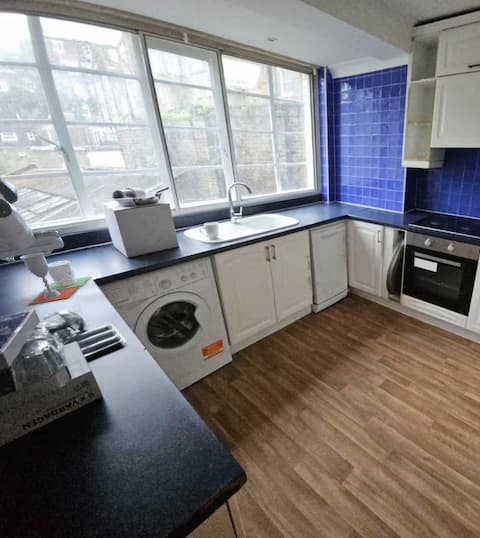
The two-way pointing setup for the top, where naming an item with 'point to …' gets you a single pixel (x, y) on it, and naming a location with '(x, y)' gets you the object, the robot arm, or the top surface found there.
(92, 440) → the top surface
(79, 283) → the sage mat
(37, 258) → the chalice
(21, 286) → the top surface
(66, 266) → the white cup
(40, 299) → the terracotta mat
